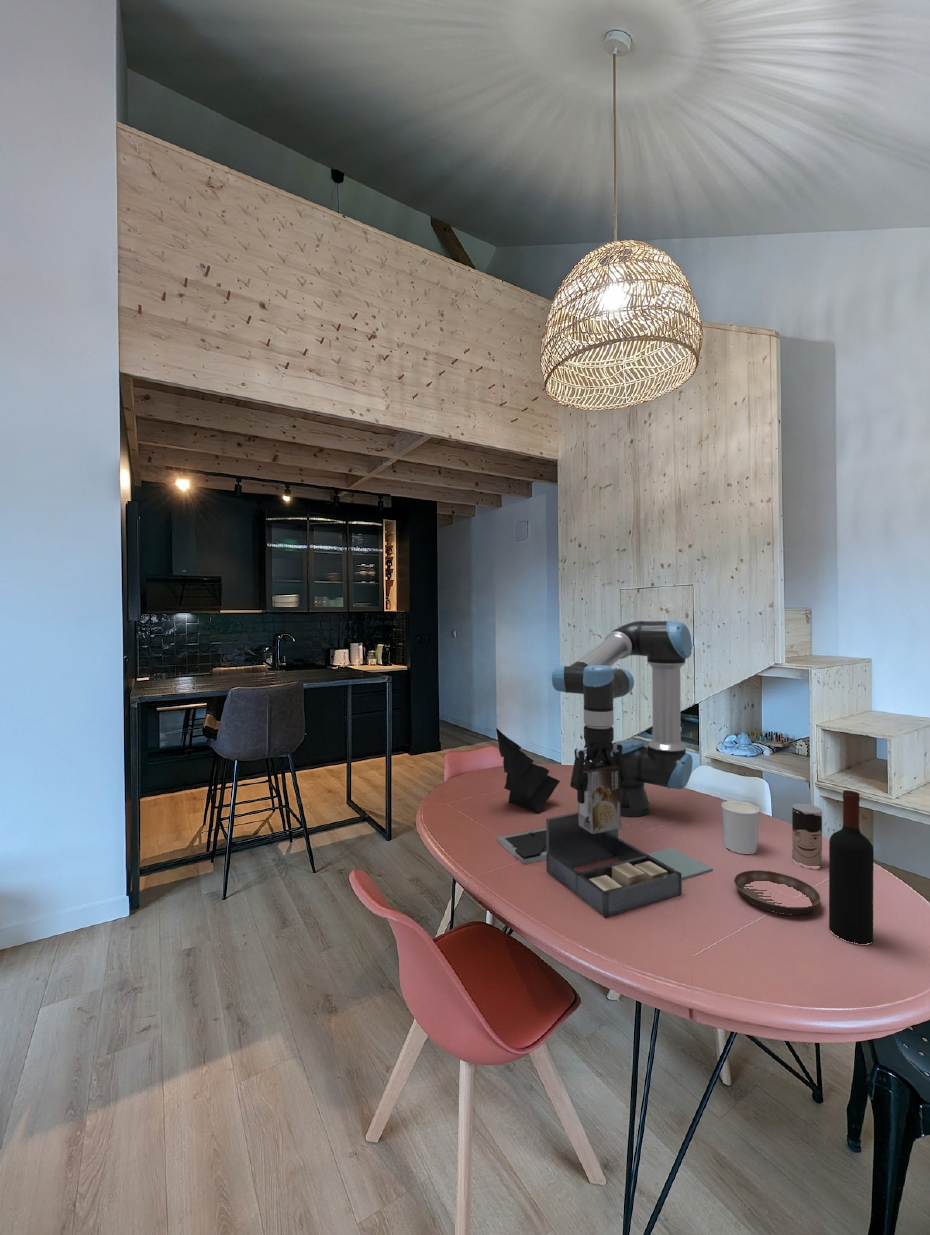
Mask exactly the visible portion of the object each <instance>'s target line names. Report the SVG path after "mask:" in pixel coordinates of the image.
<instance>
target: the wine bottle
mask: <svg viewBox="0 0 930 1235" xmlns="http://www.w3.org/2000/svg"><path fill="white" fill-rule="evenodd" d="M860 799H861V798H860V793H859V792H857V791H855V790H850V789H849V790H843V791H842V827H841V829H839V830H837V831H835V832H833V833H832V834H831V836H830V837H829V841H828V844H829V845H828V848H829V849H828V854H829V855H828V860H829V861H828V865H829V866H828V872H829V874H828V878H829V879H828V903H829V904H828V929H829V928H830V930H831V931H832V932H833V933H834V934H835V935H837V936H839V938H842V939H844V940H846V941H849V942H853V943H854V942H855V943H858V944H867V943H871V942H874V845H873V844H872V842H871V841H870V840H869V838H867V837H866V836H865V835H864V834H863V833H862V832H861V830H860V802H861V800H860ZM830 930H829V931H830ZM839 938H838V939H839Z"/></svg>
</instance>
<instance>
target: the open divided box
mask: <svg viewBox="0 0 930 1235" xmlns="http://www.w3.org/2000/svg"><path fill="white" fill-rule="evenodd" d="M545 820H546V821H545V822H546V824H545V825H546V826H545V828H546V836H547V860H546V872H547V873H548V874H549V875H551V876H552V878H554V879H555V880H557V881H558V882H560V883H561V884H562V885H563V886H564V887H566V888H567V889H568V890H569V891H571V892H572V893H574V895H575V896H577V897H578V898H580V899H581V900H582V901H583V902H584V903H586V904H588V905H589V906H590V907H591V908H593V909H594V910H595V911H596V912H598V913H599V914H600V915H601V916H603V917H604V918H605V919H606V918H609V917H613V916H616V915H619V914H621V913H624V912H628V911H632V910H635V909H638V908H641V907H645V906H648V905H651V904H654V903H657V902H660V901H664V900H667V899H670V898H673V897H677V896H680V895H682V891H683V890H682V889H683V888H682V886H683V885H682V884H683V883H682V874H681V873H680V872H678V871H676V870H674V869H673V868H671V867H669V866H667V865H665V864H664V863H662V862H660V861H658V860H657V859H655V858H653V857H651V856H649V855H648V854H647V853H646V852H644V851H642V850H641V849H639V848H637V847H635V846H633V845H632V844H631V843H628V842H627V841H624V840H622V839H621V838H619V828H618V829H613V830H609V831H605V832H601V833H596V834H592V833H590V832H588V831H587V830H585V829H584V828H582V827H580V826H579V812H571V813H567V814H561V815H557V816H551V817H548V818H547V817H546V819H545ZM614 857H615V858H617V859H619V860H621V861H620V862H614V863H611V864H607V865H603V866H599V867H596V868H592V869H589V870H583V871H580V872H579V871H577V870H576V869H574V867H578V866H582V865H586V864H590V863H594V862H598V861H602V860H607V859H611V858H614ZM647 861H650V862H652V863H654V864H655V865H657V866H659V867H661V868H662V869H664V870H666V871H667V875H665V876H662V877H658V878H655V879H651V880H647V881H644V882H640V883H637V884H633V885H630V886H626V887H623V888H619V889H616V890H612V891H609V892H605V891H603V890H602V889H601V888H599V887H598V886H597V885H595V884H594V883H592V882H591V881H590V880H589V879H590V878H595V877H599V876H604V875H607V876H608V877H610V878H611V879H612V867H613V866H616V865H620V864H624V863H629V864H631V865H633V866H634V865H636V864H640V863H644V862H647Z"/></svg>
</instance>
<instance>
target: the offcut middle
mask: <svg viewBox="0 0 930 1235" xmlns="http://www.w3.org/2000/svg"><path fill="white" fill-rule="evenodd" d="M612 880H614V881H615V882H616V883H618V884H619V885H620V886H622V888H623V887H626V886H630V885H633V884H637V883H640V882H644V881H645V873H644V872H643V871H641V870H639V869H638V868H636V867H634V866H633V865H631V864H629V863H624V864H620V865H616V866H613V867H612Z"/></svg>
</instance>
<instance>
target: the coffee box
mask: <svg viewBox="0 0 930 1235" xmlns="http://www.w3.org/2000/svg"><path fill="white" fill-rule="evenodd" d="M583 772H585V773H587V774H588V785H587V787H586V790H587V791H588V815H589V817H585V816H583V815H581V814H580V804H579V802H578V801H577V805H578V807H577V808H578V812H579V826H580V827H582V828H584V829H585V830H587V831H588V832H590V833H592V834H596V833H601V832H605V831H609V830H613V829H618V830H619V829H621V828H622V816H621V796H620V767H619V766H616V765H611V766H610V765H607V764H605V763H604V762H602V761H601V762H599V763H597V765H596V766H595V767H594V769H591V770H589V769H586V768H584V767H583Z"/></svg>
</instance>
